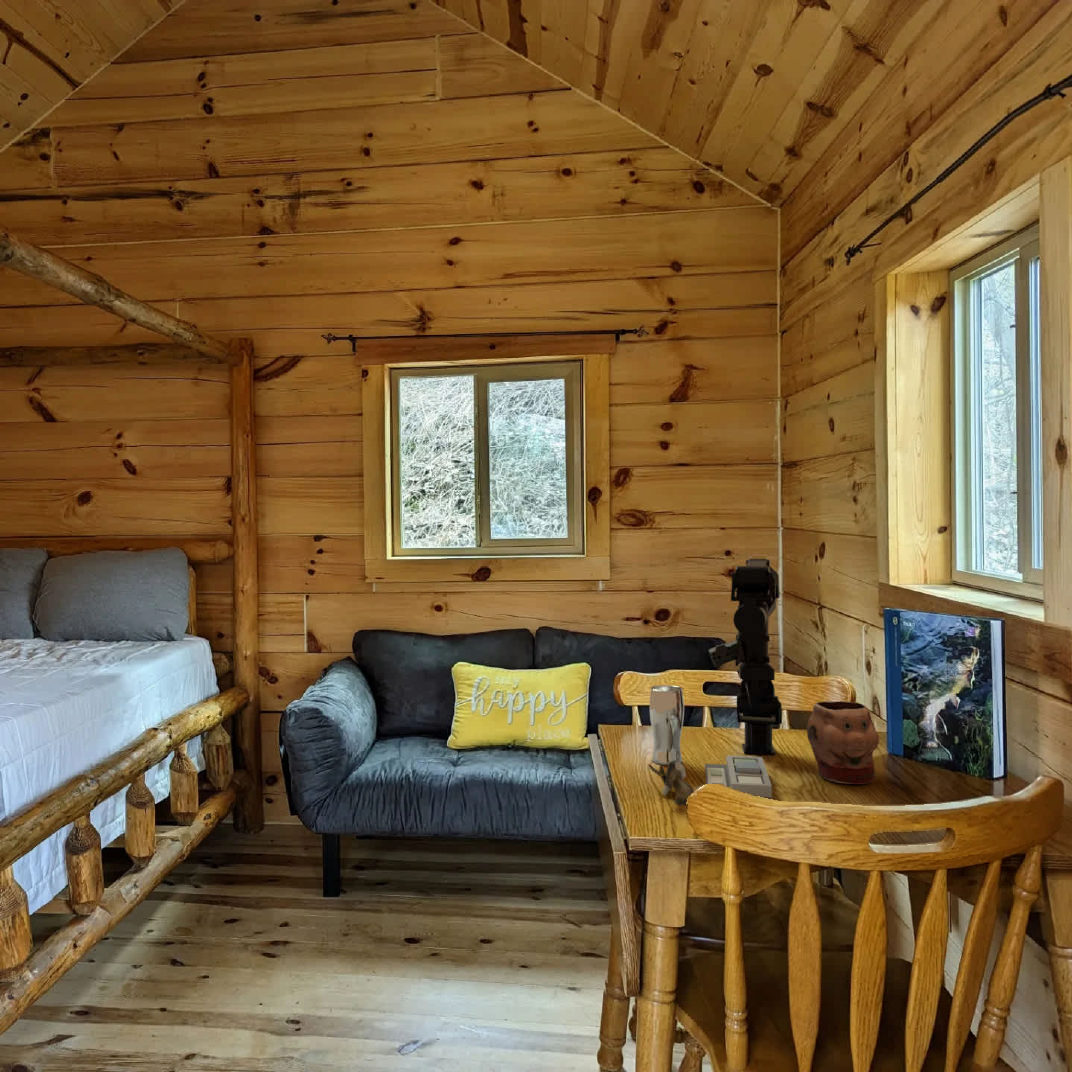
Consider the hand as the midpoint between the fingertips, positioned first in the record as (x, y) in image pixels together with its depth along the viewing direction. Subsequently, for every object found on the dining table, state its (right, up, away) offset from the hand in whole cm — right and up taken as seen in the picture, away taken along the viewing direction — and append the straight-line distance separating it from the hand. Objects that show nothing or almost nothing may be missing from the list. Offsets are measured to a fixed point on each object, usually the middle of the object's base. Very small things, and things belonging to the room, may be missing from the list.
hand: (753, 708), depth 152 cm
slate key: (-4, -10, -10) cm, 14 cm away
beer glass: (-16, -12, +6) cm, 21 cm away
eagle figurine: (-19, -12, -15) cm, 27 cm away
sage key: (-3, -11, -4) cm, 12 cm away
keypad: (-6, -12, -10) cm, 16 cm away
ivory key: (-5, -11, -15) cm, 19 cm away
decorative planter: (+16, -12, -4) cm, 20 cm away
